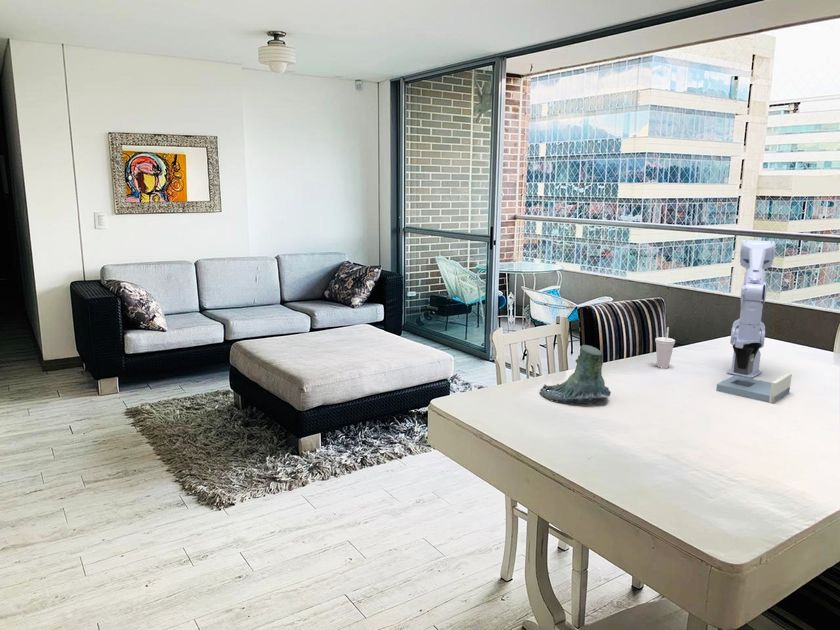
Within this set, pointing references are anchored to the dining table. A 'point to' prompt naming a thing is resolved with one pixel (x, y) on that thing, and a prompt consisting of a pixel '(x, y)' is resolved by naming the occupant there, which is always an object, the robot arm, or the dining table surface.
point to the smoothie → (664, 350)
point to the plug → (749, 366)
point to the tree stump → (581, 380)
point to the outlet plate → (757, 388)
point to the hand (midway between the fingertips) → (744, 367)
